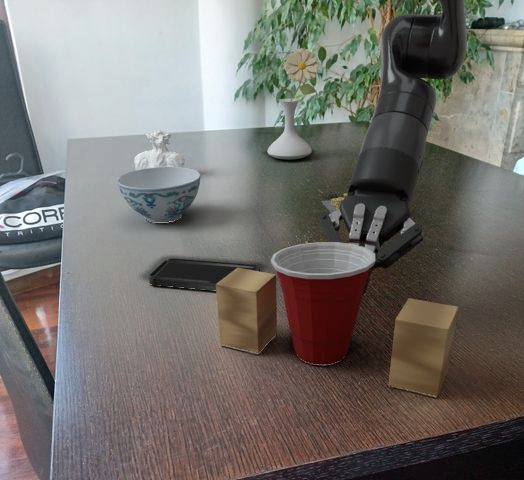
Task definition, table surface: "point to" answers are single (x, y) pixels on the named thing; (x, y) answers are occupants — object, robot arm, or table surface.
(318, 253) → the plastic cup
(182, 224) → the table surface
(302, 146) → the flower in vase
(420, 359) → the maple block
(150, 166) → the bust
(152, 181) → the chinaware
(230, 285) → the maple block
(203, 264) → the phone
